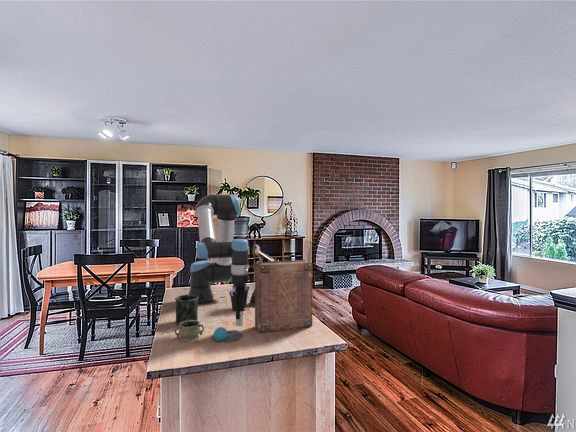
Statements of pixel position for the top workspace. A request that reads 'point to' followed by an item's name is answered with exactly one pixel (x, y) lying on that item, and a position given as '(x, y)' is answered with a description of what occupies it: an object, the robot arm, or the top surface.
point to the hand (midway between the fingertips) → (239, 325)
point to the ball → (220, 334)
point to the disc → (231, 336)
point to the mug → (186, 308)
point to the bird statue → (261, 256)
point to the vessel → (189, 330)
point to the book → (283, 295)
